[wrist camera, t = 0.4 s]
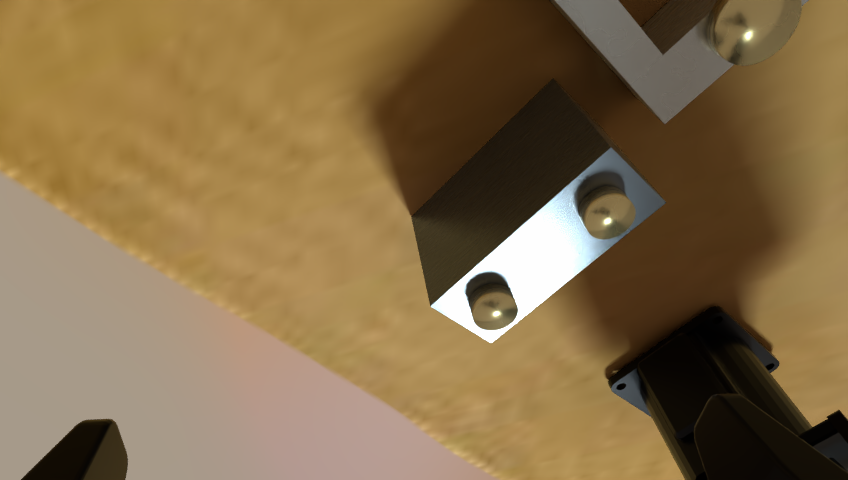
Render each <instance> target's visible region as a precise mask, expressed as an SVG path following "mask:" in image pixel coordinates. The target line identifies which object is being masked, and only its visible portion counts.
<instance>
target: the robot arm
mask: <svg viewBox="0 0 848 480" xmlns="http://www.w3.org/2000/svg"><path fill="white" fill-rule="evenodd" d="M778 366H779V361H778V360H777V359H776V358H775V356H774V355H773V354H772V353H771V352H770V351H768V350H767V349H766V348H765V347H764V346H763V345H762V344H761V343H760V342H759V341H758V340H756V339H755V338H754V337H753V336H752V335H751V334H750V333H749V332H748V331H747V330H746V329H744V328H743V327H742V326H741V325H740V324H739V323H738V322H737V321H736V320H735V319H734V318H732V317H731V316H730V315H729V314H728V313H727V312H726V311H725V310H724V309H723V308H721V307H719V306H715V307H711V308H709V309H708V310H706V311H705V312H703V313H702V314H700V315H699V316H698V317H696V318H695V319H693V320H692V321H690V322H689V323H688V324H686V325H685V326H683V327H682V328H681V329H679V330H678V331H676V332H675V333H673V334H672V335H671V336H669V337H668V338H666V339H665V340H663V341H662V342H661V343H659V344H658V345H656V346H655V347H654V348H652V349H651V350H649V351H648V352H646V353H645V354H644V355H642V356H641V357H639V358H638V359H636V360H635V361H634V362H632V363H631V364H629V365H628V366H626V367H625V368H624V369H622V370H621V371H619V372H618V373H617V374H615V375H614V376H612V377H611V378H610V379H609V381H608V384H609V386H610V388H611V390H612V392H614V393H615V394H617V395H618V396H620V397H621V398H623V399H624V400H626V401H627V402H629V403H630V404H632V405H634V406H635V407H637V408H638V409H640V410H641V411H643V412H644V413H646V414H647V415H649V416H651V417H652V419H653V420H654V422H655V424H656V426H657V428H658V430H659V432H660V433H661V435H662V437H663V439H664V441H665V443H666V445H667V446H668V448H669V450H670V452H671V454H672V456H673V458H674V460H675V461H676V463H677V465H678V467H679V469H680V471H681V473H682V474H683V476H684V478H685V480H848V419H847V418H846V417H845V416H844V415H843V414H842V412H841V411H840V410H838V411H836V412H834V413H832V414H831V415H829V416H827V418H828V419H827V420H825V421H823V422H822V423H820V424H818V425H816V426H814V427H812V426H811V425H810V423H809V422H808V421H807V420H806V418H805V417H804V416H803V415H802V413H801V412H800V411H799V409H798V408H797V407H796V406H795V404H794V403H793V402H792V401H791V399H790V398H789V397H788V395H787V394H786V393H785V392H784V390H783V389H782V388H781V387H780V385H779V384H778V383H777V381H776V380H775V379H774V378H773V376H772V375H771V374H770V373H771V372H773V371H774V370H775V369H777V368H778ZM127 466H128V458H127V453H126V449H125V447H124V444H123V441H122V438H121V435H120V432H119V429H118V426H117V424H116V422H115V421H113V420H112V419H97V420H96V419H95V420H85V421H82V422H80V423H79V424H77V425H76V426H75V427H74V428H73V429H72V430H71V431H70V432H69V433H68V434H67V435H66V436H65V437H64V438H63V439H62V440H61V441H60V442H59V443H58V444H57V445H56V446H55V447H54V448H53V449H52V450H51V451H50V452H49V453H47V455H46V456H44V457H43V459H42V460H40V461H39V462H38V463H37V464H36V465H35V466H34V467H33V468H32V469H31V470H30V471H29V472H28V473H27V474H26V475H25V476H24V477H23V478H22V479H21V480H125V478H126V473H127Z"/></svg>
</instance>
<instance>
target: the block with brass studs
mask: <svg viewBox="0 0 848 480" xmlns="http://www.w3.org/2000/svg"><path fill="white" fill-rule="evenodd" d="M665 203H666V202H665V201H664V199H663V198H662V197H661V196H660V195H659V194H658V192H657V191H656V190H655V189H654V188H653V187H652V186H651V184H650V183H649V182H648V181H647V180H646V179H645V177H644V176H643V175H642V174H641V173H640V172H639V170H638V169H637V168H636V167H635V166H634V165H633V163H632V162H631V161H630V160H629V159H628V158H627V156H626V155H625V154H624V153H623V152H622V151H621V150H620V148H619V147H618V146H617V145H616V144H615V143H614V141H613V140H612V139H611V138H610V137H609V136H608V134H607V133H606V132H605V131H604V130H603V129H602V127H601V126H600V125H599V124H598V123H597V122H596V121H595V120H594V119H593V118H592V117H591V116H590V115H589V114H588V113H587V112H586V111H585V110H584V109H583V108H582V107H581V106H580V105H579V104H578V103H577V102H576V101H575V100H574V99H573V98H572V97H571V96H570V95H569V94H568V93H567V92H566V91H565V90H564V89H563V88H562V87H561V86H560V85H559V84H558V83H557V82H556V81H555V80H554V79H552V80H551V81H550V82H549V83H548V84H547V85H546V86H545V87H544V88H543V89H542V90H541V91H540V92H539V93H538V94H537V95H535V96H534V97H533V98H532V99H531V100H530V101H529V102H528V103H527V104H526V105H525V106H524V107H523V108H522V109H521V110H520V111H519V112H518V113H517V114H516V115H515V116H514V117H513V118H512V119H511V120H510V121H509V122H508V123H507V124H506V125H505V126H504V127H503V128H502V129H501V130H500V131H499V132H498V133H497V134H496V135H495V136H494V137H492V138H491V139H490V140H489V141H488V142H487V143H486V144H485V145H484V146H483V147H482V148H481V149H480V150H479V151H478V152H477V153H476V154H475V155H474V156H473V157H472V158H471V159H470V160H469V161H468V162H467V163H466V164H465V165H464V166H463V167H462V168H461V169H460V170H459V171H458V172H457V173H456V174H455V175H454V176H453V177H452V178H451V179H450V180H448V181H447V182H446V183H445V184H444V185H443V186H442V187H441V188H440V189H439V190H438V191H437V192H436V193H435V194H434V195H433V196H432V197H431V198H430V199H429V200H428V201H427V202H426V203H425V204H424V205H423V206H422V207H421V208H420V209H419V210H418V211H417V212H416V213H415V214H414V215H413V216H412V222H413V227H414V231H415V236H416V241H417V245H418V250H419V255H420V260H421V264H422V269H423V274H424V278H425V283H426V288H427V292H428V297H429V302H430V306H431V307H433V308H434V309H436V310H437V311H439V312H441V313H442V314H444V315H446V316H447V317H449V318H451V319H452V320H454V321H456V322H457V323H459V324H460V325H462V326H464V327H465V328H467V329H469V330H470V331H472V332H474V333H475V334H477V335H479V336H480V337H482V338H483V339H485V340H487V341H488V342H490V343H492V342H493V341H494V340H496V339H497V338H498V337H499V336H501V335H502V334H503V333H504V332H506V331H507V330H508V329H509V328H511V327H512V326H513V325H514V324H516V323H517V322H518V321H519V320H521V319H522V318H523V317H524V316H526V315H527V314H528V313H529V312H531V311H532V310H533V309H534V308H536V307H537V306H538V305H539V304H541V303H542V302H543V301H544V300H546V299H547V298H548V297H549V296H551V295H552V294H553V293H554V292H555V291H557V290H558V289H559V288H560V287H562V286H563V285H564V284H565V283H567V282H568V281H569V280H570V279H572V278H573V277H574V276H575V275H577V274H578V273H579V272H580V271H582V270H583V269H584V268H585V267H587V266H588V265H589V264H590V263H592V262H593V261H594V260H595V259H597V258H598V257H599V256H600V255H602V254H603V253H604V252H605V251H607V250H608V249H609V248H610V247H612V246H613V245H614V244H615V243H617V242H618V241H619V240H620V239H622V238H623V237H624V236H625V235H626V234H628V233H629V232H630V231H631V230H633V229H634V228H635V227H636V226H638V225H639V224H640V223H641V222H643V221H644V220H645V219H646V218H648V217H649V216H650V215H651V214H653V213H654V212H655V211H656V210H658V209H659V208H660V207H661V206H663V205H664V204H665Z"/></svg>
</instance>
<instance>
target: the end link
mask: <svg viewBox="0 0 848 480" xmlns="http://www.w3.org/2000/svg"><path fill="white" fill-rule="evenodd" d="M550 1H551V2H552V4H553V5H554V6H555V7H556V8H557V9H558V10H559V11H560V12H561V14H562V15H563V16H564V17H565V18H566V19H567V20H568V21H569V23H570V24H571V25H572V26H573V27H574V28H575V29H576V30H577V31H578V33H579V34H580V35H581V36H582V37H583V38H584V39H585V40H586V42H587V43H588V44H589V45H590V46H591V47H592V48H593V49H594V50H595V52H596V53H597V54H598V55H599V56H600V57H601V58H602V59H603V61H604V62H605V63H606V64H607V65H608V66H609V67H610V68H611V69H612V71H613V72H614V73H615V74H616V75H617V76H618V77H619V78H620V80H621V81H622V82H623V83H624V84H625V85H626V86H627V87H628V88H629V90H630V91H631V92H632V93H633V94H634V95H635V96H636V97H637V99H638V100H639V101H641V102H642V103H643V104H644V105H645V106H646V107H647V108H648V109H649V110H650V111H651V112H652V113H653V114H654V115H656V116H657V117H658V118H659V119H660V120H661V121H662V122H663V123H664V124H666V123H667V122H668V121H669V120H670V119H671V118H673V117H674V116H675V115H676V114H677V113H678V112H680V111H681V110H682V109H683V108H684V107H685V106H687V105H688V104H689V103H690V102H691V101H692V100H694V99H695V98H696V97H697V96H698V95H699V94H700V93H702V92H703V91H704V90H705V89H706V88H707V87H709V86H710V85H711V84H712V83H713V82H714V81H716V80H717V79H718V78H719V77H720V76H721V75H723V74H724V73H725V72H726V71H727V70H728V69H729V68H731V67H732V66H733V65H734V64H735V65H741V66H747V65H753V64H756V63H759V62H761V61H764V60H765V59H767V58H769V57H771V56H772V55H773V54H775V53H776V52H777V51H778V50H780V49H781V48H782V47H783V46H784V45H785V43H786V42H787V41H788V40H789V38H790V37H791V36H792V34H793V32H794V31H795V29H796V27H797V24H798V22H799V19H800V15H801V10H802V6H803V5H804V4H805V3H806V2H807V1H808V0H670V1H669V2H668V3H667V4H666V5H665V6H664V7H663V8H661V9H660V10H659V11H658V12H657V13H656V14H655V15H654V16H653V17H652V18H651V19H650V20H649V21H648V22H647V23H646V24H645V25H644V26H643V27H640V26H639V25H638V24H637V23H636V21H635V20H634V19H633V18H632V16H631V15H630V14H629V13H628V11H627V10H626V9H625V8H624V7H623V5H622V4H621V3H620V2H619V0H550Z"/></svg>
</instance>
